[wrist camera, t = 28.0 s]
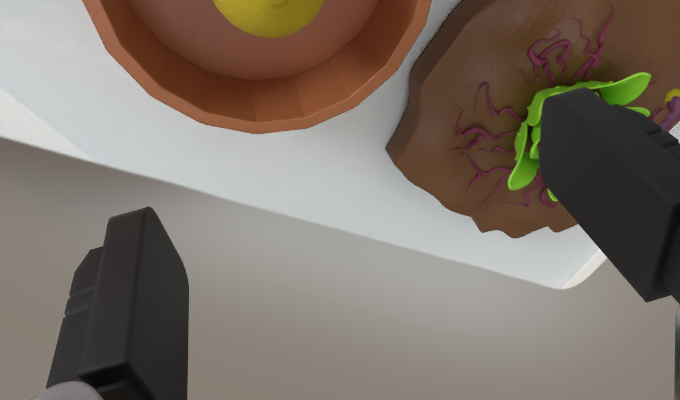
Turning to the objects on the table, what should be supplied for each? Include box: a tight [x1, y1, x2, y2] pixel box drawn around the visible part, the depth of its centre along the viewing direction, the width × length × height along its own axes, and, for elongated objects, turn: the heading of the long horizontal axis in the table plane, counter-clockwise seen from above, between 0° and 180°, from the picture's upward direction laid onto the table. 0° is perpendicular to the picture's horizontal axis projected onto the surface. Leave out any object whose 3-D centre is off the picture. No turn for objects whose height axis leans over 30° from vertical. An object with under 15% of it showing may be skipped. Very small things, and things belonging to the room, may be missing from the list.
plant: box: [386, 0, 680, 238], centre depth 32 cm, size 20×20×11 cm
